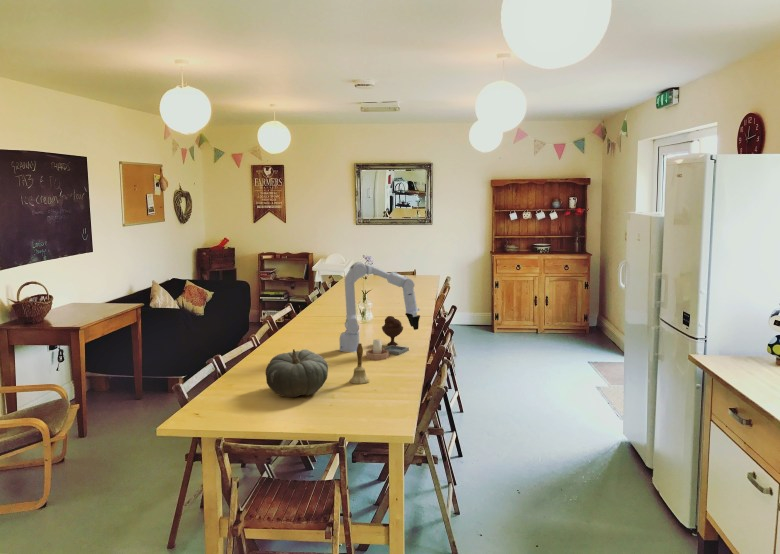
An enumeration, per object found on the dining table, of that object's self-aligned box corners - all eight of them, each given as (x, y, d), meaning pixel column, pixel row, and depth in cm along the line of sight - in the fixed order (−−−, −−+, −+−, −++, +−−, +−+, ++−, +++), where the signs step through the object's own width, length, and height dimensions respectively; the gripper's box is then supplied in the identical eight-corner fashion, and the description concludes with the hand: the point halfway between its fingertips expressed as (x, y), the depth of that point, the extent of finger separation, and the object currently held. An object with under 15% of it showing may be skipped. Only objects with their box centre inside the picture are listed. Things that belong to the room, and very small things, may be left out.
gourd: (317, 371, 258) (314, 334, 252) (340, 398, 237) (338, 357, 231) (259, 386, 247) (255, 347, 241) (278, 415, 226) (275, 373, 220)
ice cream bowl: (385, 348, 309) (385, 318, 307) (379, 342, 320) (379, 314, 318) (405, 346, 312) (405, 317, 310) (399, 341, 323) (399, 313, 321)
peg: (371, 357, 290) (371, 340, 289) (376, 355, 293) (376, 339, 292) (378, 358, 288) (378, 341, 287) (383, 356, 291) (383, 340, 290)
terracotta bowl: (362, 358, 289) (362, 352, 288) (374, 353, 298) (373, 347, 297) (381, 362, 283) (381, 355, 283) (392, 356, 292) (392, 350, 292)
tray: (380, 353, 299) (380, 349, 299) (391, 349, 307) (391, 345, 307) (398, 356, 294) (398, 352, 293) (408, 351, 302) (408, 347, 302)
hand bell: (354, 377, 259) (354, 340, 257) (372, 379, 256) (372, 342, 254) (346, 382, 252) (345, 345, 250) (364, 385, 249) (364, 346, 247)
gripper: (421, 302, 299) (425, 329, 301) (415, 297, 313) (419, 323, 315) (407, 305, 298) (411, 332, 300) (401, 300, 312) (406, 325, 314)
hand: (414, 327), depth 308 cm, fingers open, 7 cm apart
